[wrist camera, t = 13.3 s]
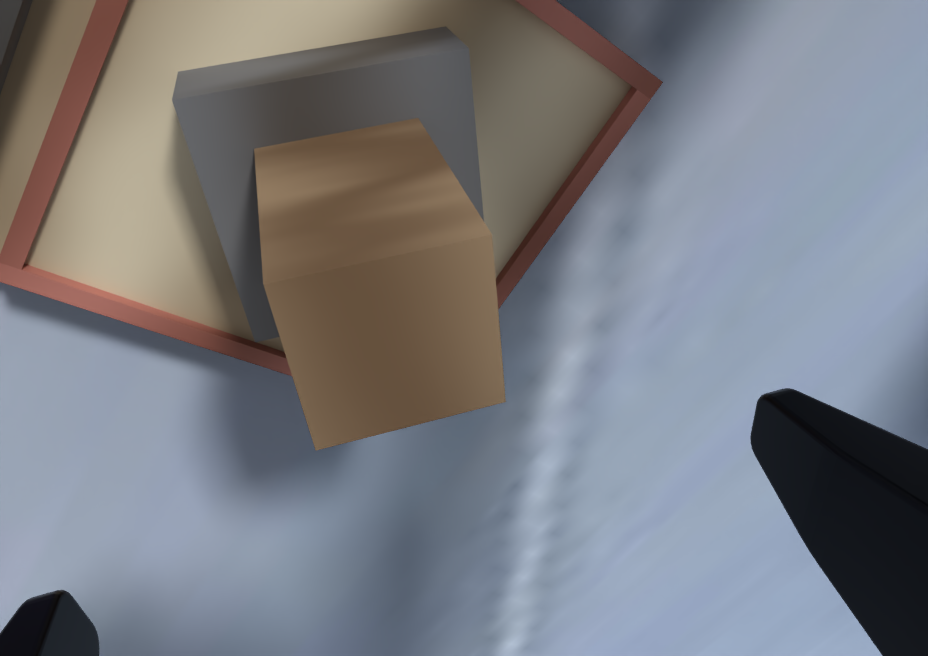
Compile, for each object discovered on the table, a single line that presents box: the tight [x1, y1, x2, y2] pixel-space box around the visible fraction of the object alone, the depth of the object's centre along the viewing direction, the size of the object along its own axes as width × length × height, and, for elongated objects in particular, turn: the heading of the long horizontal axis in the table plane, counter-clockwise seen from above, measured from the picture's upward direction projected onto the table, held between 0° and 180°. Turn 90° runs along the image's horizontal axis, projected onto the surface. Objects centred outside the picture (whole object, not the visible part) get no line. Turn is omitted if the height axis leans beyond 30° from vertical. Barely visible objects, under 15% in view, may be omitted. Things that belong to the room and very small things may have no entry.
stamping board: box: [0, 0, 663, 376], centre depth 14 cm, size 24×12×2 cm, turn 57°
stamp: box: [172, 26, 506, 450], centre depth 15 cm, size 6×6×8 cm
